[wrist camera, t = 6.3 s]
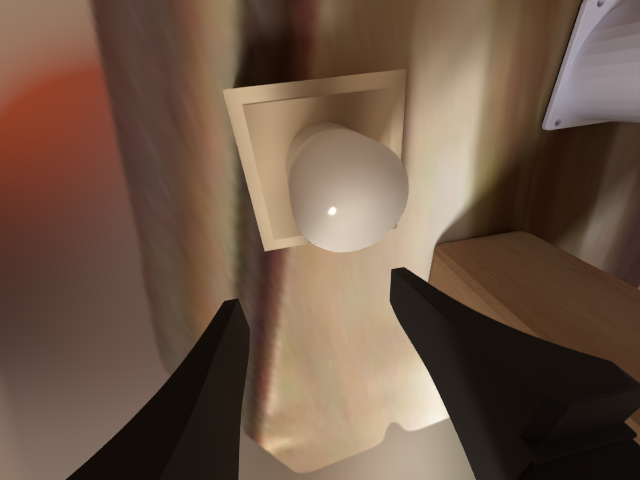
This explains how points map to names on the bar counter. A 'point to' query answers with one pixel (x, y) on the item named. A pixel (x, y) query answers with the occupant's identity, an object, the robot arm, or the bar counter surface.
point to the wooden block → (544, 296)
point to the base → (294, 116)
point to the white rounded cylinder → (344, 187)
